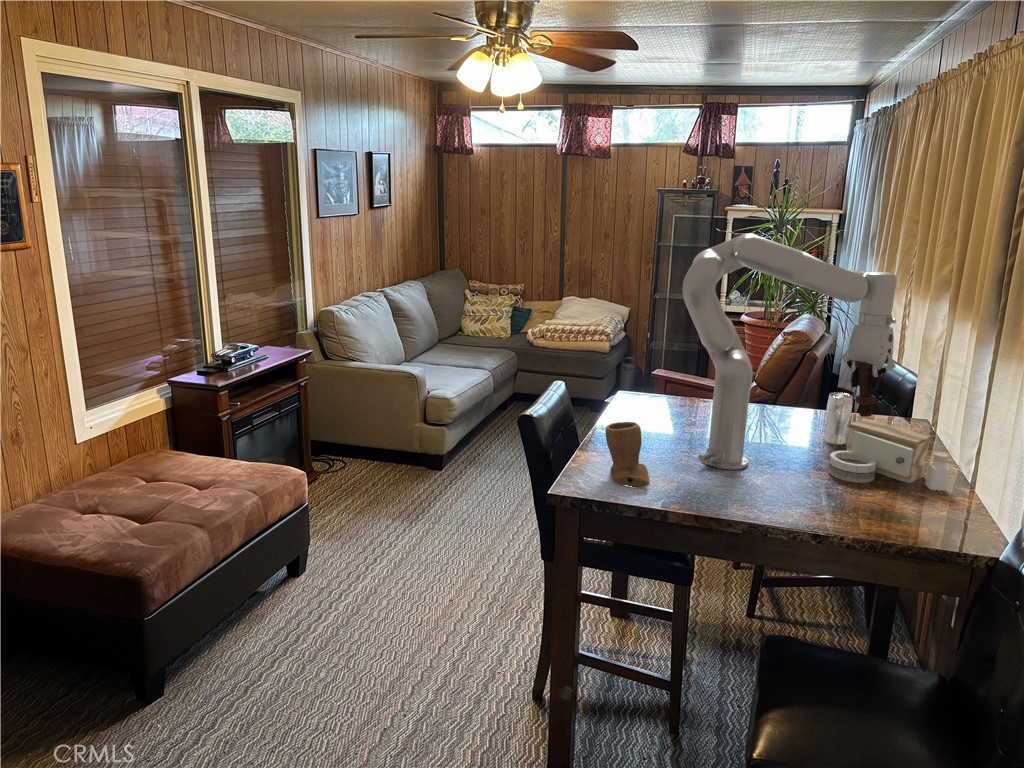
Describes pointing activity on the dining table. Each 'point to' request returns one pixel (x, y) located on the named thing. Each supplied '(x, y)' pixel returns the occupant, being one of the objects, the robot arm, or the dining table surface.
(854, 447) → the grey piece
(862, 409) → the bolt
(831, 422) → the silver tall cylinder
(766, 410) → the dining table surface
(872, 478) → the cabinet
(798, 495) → the dining table surface
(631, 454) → the tan hollow piece
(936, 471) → the pepper shaker
